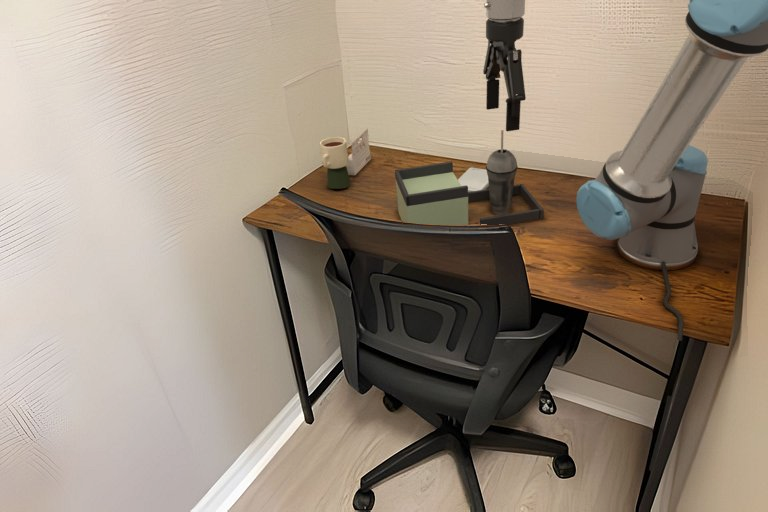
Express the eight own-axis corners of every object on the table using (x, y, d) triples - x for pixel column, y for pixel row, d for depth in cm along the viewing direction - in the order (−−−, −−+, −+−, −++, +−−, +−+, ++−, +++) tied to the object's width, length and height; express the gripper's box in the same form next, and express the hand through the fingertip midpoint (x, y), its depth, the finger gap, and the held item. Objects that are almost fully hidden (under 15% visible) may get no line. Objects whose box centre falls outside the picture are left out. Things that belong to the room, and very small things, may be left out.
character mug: (338, 176, 167) (332, 132, 160) (360, 179, 164) (354, 135, 157) (317, 193, 159) (310, 148, 152) (340, 197, 156) (333, 151, 149)
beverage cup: (485, 218, 141) (486, 139, 130) (484, 203, 147) (485, 126, 136) (516, 217, 140) (520, 138, 129) (514, 202, 146) (518, 125, 135)
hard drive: (469, 166, 161) (450, 186, 152) (498, 171, 157) (479, 191, 149) (469, 172, 162) (450, 192, 153) (498, 177, 158) (479, 197, 150)
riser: (543, 219, 138) (546, 174, 132) (409, 240, 136) (405, 196, 129) (522, 192, 150) (524, 150, 144) (398, 211, 147) (394, 169, 141)
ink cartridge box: (347, 175, 167) (343, 143, 162) (364, 159, 175) (360, 127, 170) (355, 176, 166) (351, 143, 161) (371, 159, 174) (368, 128, 169)
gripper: (469, 8, 129) (469, 102, 141) (507, 34, 108) (504, 142, 120) (502, 3, 129) (500, 98, 141) (546, 29, 109) (539, 137, 121)
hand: (502, 118), depth 131 cm, fingers open, 13 cm apart
